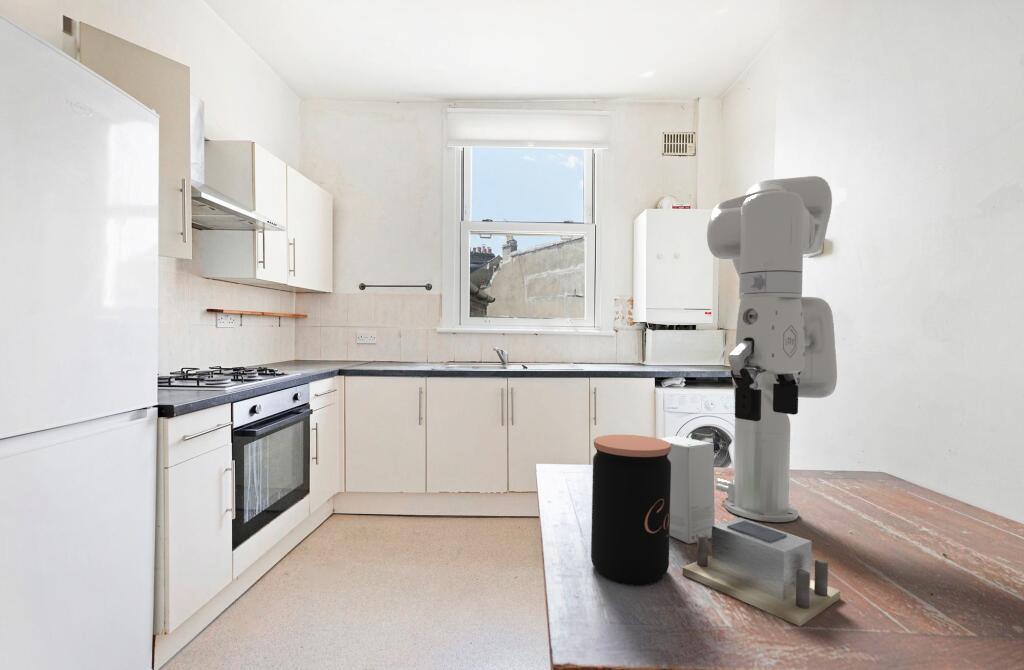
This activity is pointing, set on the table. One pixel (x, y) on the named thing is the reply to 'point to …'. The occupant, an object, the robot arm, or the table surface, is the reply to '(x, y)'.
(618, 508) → the coffee jar
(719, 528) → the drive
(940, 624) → the table surface
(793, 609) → the cream peg board
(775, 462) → the robot arm
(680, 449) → the skincare box
